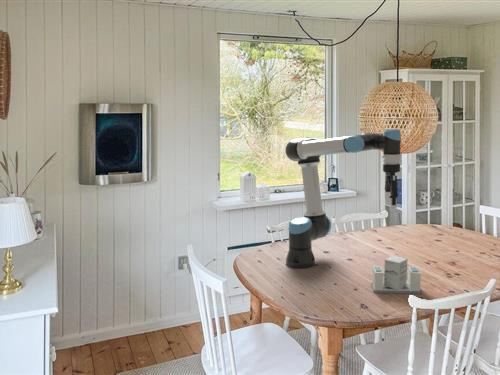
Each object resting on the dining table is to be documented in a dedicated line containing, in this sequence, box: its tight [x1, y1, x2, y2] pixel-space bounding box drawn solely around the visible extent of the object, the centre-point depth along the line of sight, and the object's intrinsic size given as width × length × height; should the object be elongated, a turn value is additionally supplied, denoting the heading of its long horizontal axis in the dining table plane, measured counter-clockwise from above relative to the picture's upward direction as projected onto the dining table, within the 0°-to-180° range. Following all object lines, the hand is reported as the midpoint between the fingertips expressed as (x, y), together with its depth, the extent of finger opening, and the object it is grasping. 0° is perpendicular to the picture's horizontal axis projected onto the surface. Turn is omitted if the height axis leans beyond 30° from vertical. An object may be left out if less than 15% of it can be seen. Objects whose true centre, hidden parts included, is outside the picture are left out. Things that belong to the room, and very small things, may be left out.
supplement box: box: [383, 255, 408, 290], centre depth 206 cm, size 7×7×13 cm
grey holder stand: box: [370, 265, 423, 295], centre depth 206 cm, size 20×9×9 cm, turn 83°
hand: (390, 208), depth 218 cm, fingers open, 13 cm apart
